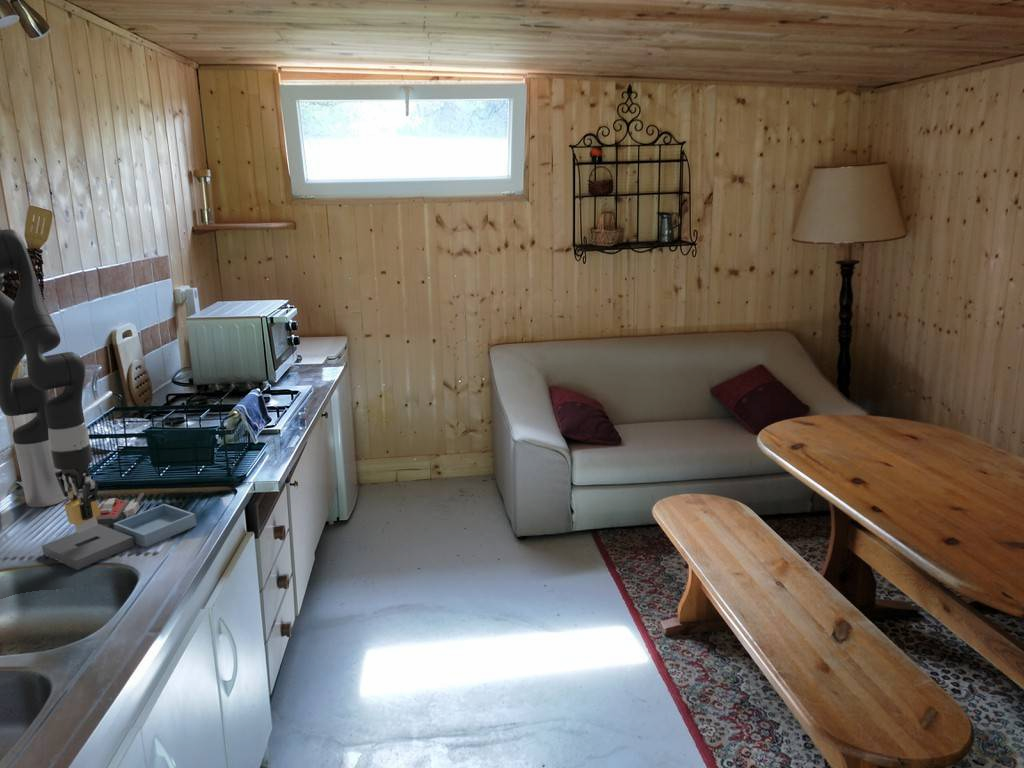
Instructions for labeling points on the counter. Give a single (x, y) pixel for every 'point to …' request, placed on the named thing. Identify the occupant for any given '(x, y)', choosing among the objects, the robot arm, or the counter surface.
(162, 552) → the counter surface
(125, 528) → the tray
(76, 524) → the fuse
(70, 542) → the grey slotted base
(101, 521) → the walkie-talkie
